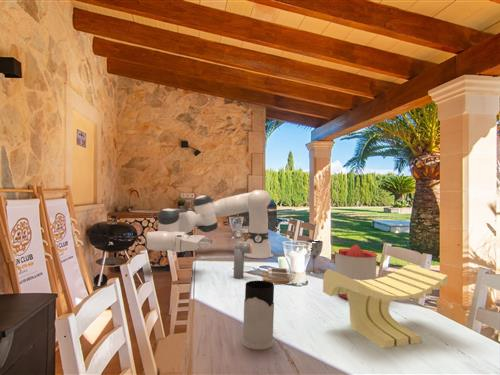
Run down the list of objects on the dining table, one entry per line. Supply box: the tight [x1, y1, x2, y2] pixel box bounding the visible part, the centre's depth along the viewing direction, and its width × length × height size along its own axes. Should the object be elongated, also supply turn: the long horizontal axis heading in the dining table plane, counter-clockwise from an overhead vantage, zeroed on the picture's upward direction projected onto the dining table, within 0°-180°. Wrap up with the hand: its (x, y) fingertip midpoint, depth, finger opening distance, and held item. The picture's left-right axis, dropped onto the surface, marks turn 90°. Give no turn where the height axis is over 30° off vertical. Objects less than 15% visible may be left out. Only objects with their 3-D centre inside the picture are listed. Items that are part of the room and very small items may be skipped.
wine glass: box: [305, 239, 324, 274], centre depth 164 cm, size 8×8×15 cm
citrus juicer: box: [329, 244, 378, 300], centre depth 128 cm, size 16×17×20 cm
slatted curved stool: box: [322, 264, 449, 349], centre depth 96 cm, size 30×16×18 cm, turn 109°
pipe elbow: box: [233, 242, 252, 280], centre depth 148 cm, size 8×5×15 cm, turn 88°
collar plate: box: [262, 267, 290, 285], centre depth 147 cm, size 14×14×4 cm
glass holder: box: [240, 280, 275, 350], centre depth 90 cm, size 9×14×15 cm, turn 163°
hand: (211, 242), depth 148 cm, fingers open, 8 cm apart
